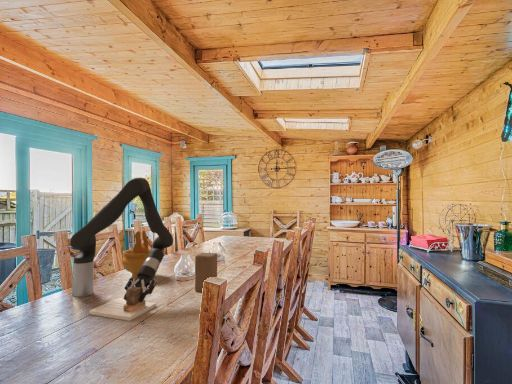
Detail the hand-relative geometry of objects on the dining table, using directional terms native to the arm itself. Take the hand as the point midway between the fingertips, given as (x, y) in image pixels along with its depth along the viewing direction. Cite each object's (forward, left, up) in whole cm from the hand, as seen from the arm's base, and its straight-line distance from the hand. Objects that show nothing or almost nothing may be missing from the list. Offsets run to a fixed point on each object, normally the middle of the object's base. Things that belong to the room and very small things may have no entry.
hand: (132, 300), depth 137 cm
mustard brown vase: (-36, +49, -6) cm, 61 cm away
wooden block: (+16, +40, -6) cm, 44 cm away
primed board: (-6, +1, -5) cm, 8 cm away
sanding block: (0, +2, -4) cm, 4 cm away
